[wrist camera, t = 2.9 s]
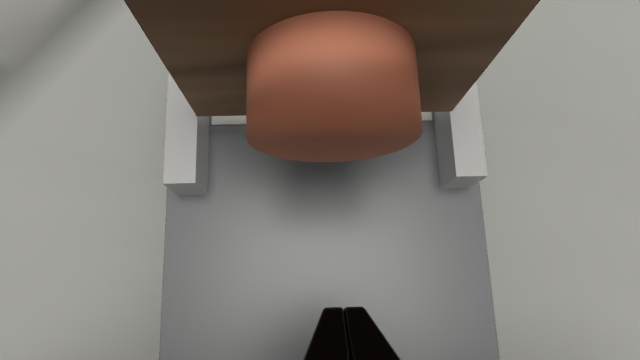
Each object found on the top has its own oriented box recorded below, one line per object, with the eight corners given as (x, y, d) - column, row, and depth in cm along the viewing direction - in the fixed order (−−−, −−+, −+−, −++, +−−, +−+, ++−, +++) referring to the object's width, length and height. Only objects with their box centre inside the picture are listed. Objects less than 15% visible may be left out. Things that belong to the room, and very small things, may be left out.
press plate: (458, 172, 14) (615, 47, 7) (194, 179, 14) (72, 55, 7) (449, 88, 15) (585, -108, 8) (197, 92, 15) (89, -106, 7)
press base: (486, 362, 16) (525, 378, 13) (168, 374, 16) (138, 393, 13) (448, 8, 20) (472, -42, 17) (184, 11, 19) (162, -39, 16)
